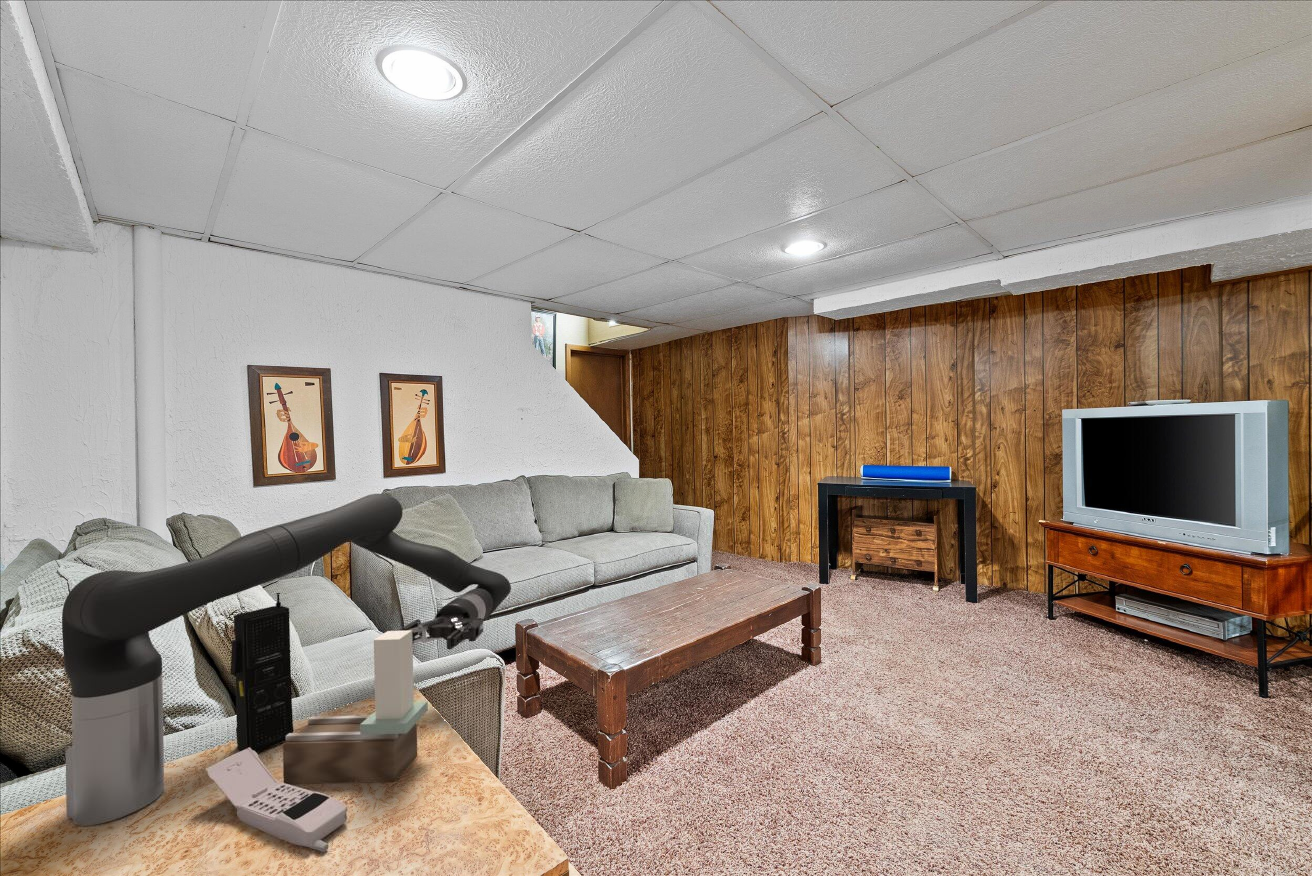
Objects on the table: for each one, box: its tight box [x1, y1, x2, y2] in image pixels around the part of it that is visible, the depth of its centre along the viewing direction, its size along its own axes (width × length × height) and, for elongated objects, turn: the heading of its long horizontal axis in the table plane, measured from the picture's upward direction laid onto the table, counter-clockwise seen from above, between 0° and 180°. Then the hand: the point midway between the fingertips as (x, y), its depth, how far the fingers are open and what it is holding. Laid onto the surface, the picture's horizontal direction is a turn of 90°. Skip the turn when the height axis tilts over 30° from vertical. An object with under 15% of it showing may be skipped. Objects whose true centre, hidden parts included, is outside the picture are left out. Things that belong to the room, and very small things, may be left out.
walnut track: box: [282, 714, 418, 785], centre depth 83 cm, size 17×7×7 cm, turn 88°
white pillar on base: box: [360, 630, 429, 734], centre depth 83 cm, size 7×7×14 cm
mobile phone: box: [205, 747, 348, 852], centre depth 72 cm, size 6×6×25 cm
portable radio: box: [229, 592, 294, 754], centre depth 91 cm, size 8×6×25 cm
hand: (425, 644), depth 94 cm, fingers open, 8 cm apart
